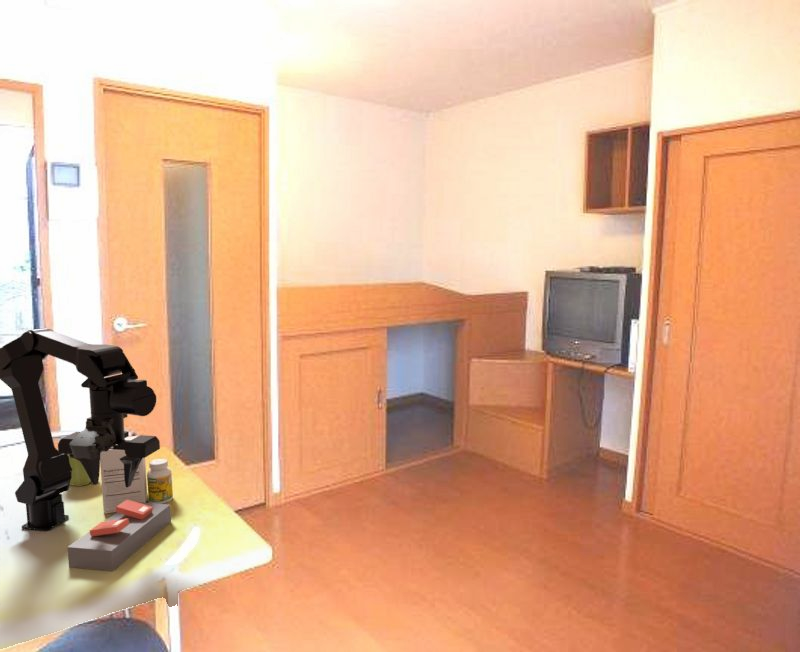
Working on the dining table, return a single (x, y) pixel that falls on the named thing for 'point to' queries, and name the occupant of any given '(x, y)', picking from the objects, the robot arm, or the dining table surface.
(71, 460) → the plant pot
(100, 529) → the block
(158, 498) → the supplement bottle
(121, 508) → the rocker back
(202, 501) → the dining table surface
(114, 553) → the long grey block
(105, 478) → the supplement box
